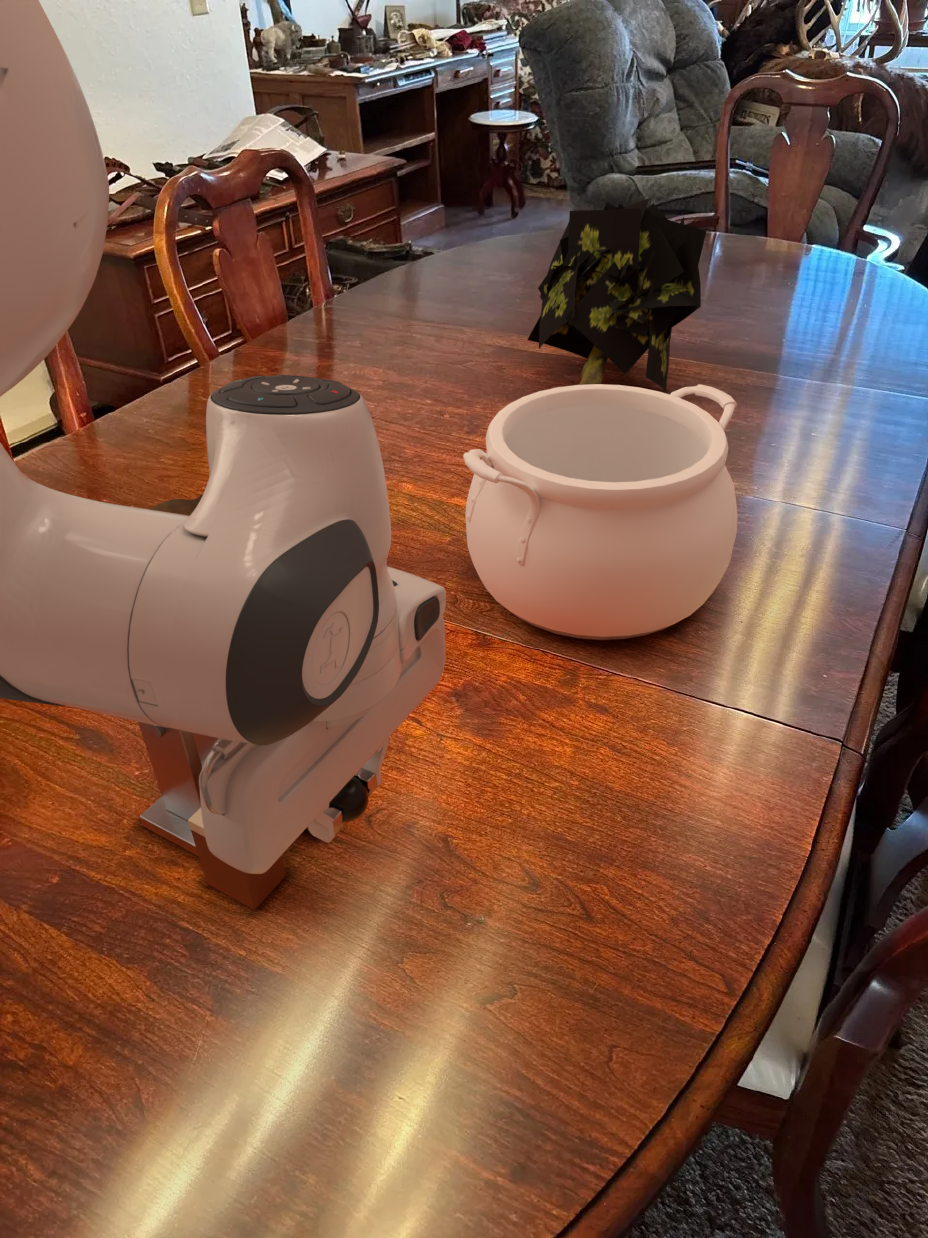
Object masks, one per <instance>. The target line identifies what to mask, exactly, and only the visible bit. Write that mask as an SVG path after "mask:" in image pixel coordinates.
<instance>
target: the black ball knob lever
mask: <svg viewBox="0 0 928 1238" xmlns="http://www.w3.org/2000/svg"><path fill="white" fill-rule="evenodd" d="M368 805H369V797H368V792H367V789H366V787H365V785H364V784H363V783H362V782H361V781H360V780H359V779H357V778H355V777H352V778H351V779H350V781H349V782H348V783H347V784H346V785H345V786H344V787H343V788H342V789H341V790H340V792H339V793H338V794H337V795H336V796H335V797H334V798H333V799H332V800H331V801H330V802H329V808H332V807H334V808H336V809H338V810H340V811H342V817H343V818H342V822H343V823H350V822H353V821H355V820H358V819H359V818H360V817H361V816H362V815H363V814H364V813H365V811H366V809H367V808H368Z"/></svg>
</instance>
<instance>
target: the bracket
mask: <svg viewBox="0 0 928 1238" xmlns="http://www.w3.org/2000/svg"><path fill="white" fill-rule="evenodd" d="M137 724H138V727H139V729H140V733H141V736H142V739H143V742H144V745H145V748H146V751H147V755H148V757H149V758H148V759H149V761H150V764H151V767H152V770H153V773H154V777H155V779H156V783H157V785H158V789H159V792H160V795H161V796H160V797H159V798H157V800H155V802H153V803H152V804H151V805H150V806H149V807H148V808H147V809H146V810H144V811H143V813H141V814H140V815H139V819H140V823H141V825H142V827H143V828H145V829H147V830H148V831H151V832H153V833H154V834H156V835H158V836H160V837H161V838H164V839H165V840H167V841H170V842H171V843H173V844H174V845H177V846H178V847H180V848H181V849H184V850H186V851H188V852H189V853H191V854H193V855H195V856H197V857H198V858H199V856H198V852H197V849H196V846H195V842H194V839H193V836H192V833H191V829H190V826H189V823H188V819H189V818H190V817H191V816H193V815H194V814H195V813H196V812H197V811H198V810H199V809H200V808H201V802H200V787H199V775H200V773H201V771H202V767H203V764H204V762H205V760H206V758H207V756H208V755H209V753H210V752H211V751H212V747H213V745H214V743H215V742H216V741H217V739H218V738H216V737H211V736H206V735H201V734H196V733H192V732H187V731H182V730H178V729H173V728H165V727H160V726H156V725H151V724H147V723H142V722H138V721H137Z"/></svg>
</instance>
